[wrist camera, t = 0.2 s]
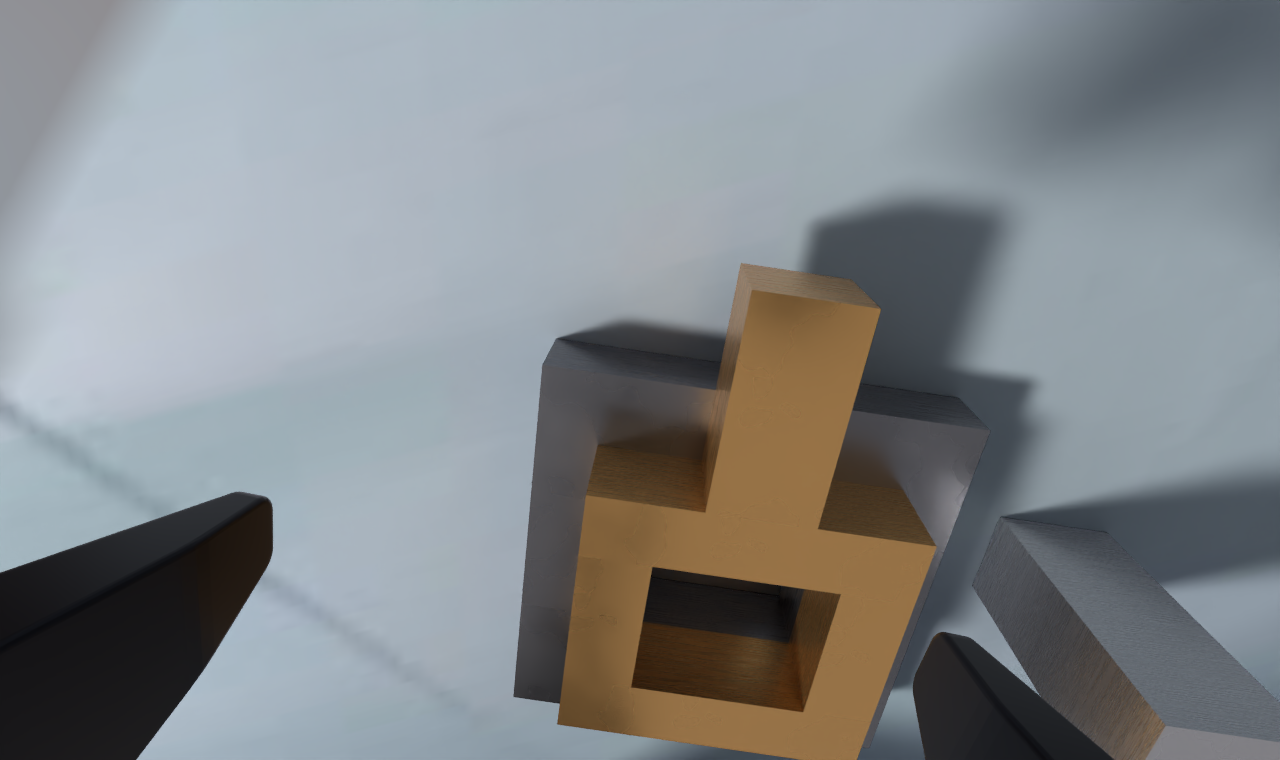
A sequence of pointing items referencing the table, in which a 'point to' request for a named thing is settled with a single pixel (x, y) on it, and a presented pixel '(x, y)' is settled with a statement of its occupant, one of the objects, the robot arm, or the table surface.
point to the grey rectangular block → (1120, 649)
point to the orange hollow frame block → (737, 528)
